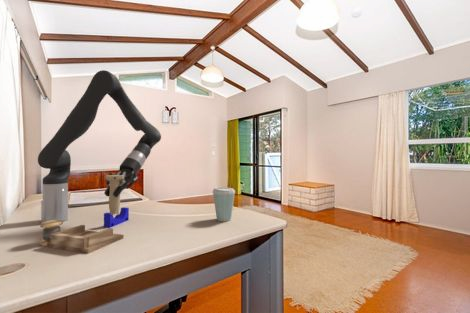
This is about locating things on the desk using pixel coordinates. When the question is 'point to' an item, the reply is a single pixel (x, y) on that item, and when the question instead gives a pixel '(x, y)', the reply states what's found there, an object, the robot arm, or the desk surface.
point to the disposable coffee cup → (223, 202)
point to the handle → (114, 183)
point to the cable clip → (116, 218)
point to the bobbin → (49, 230)
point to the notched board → (90, 249)
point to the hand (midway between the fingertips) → (110, 195)
